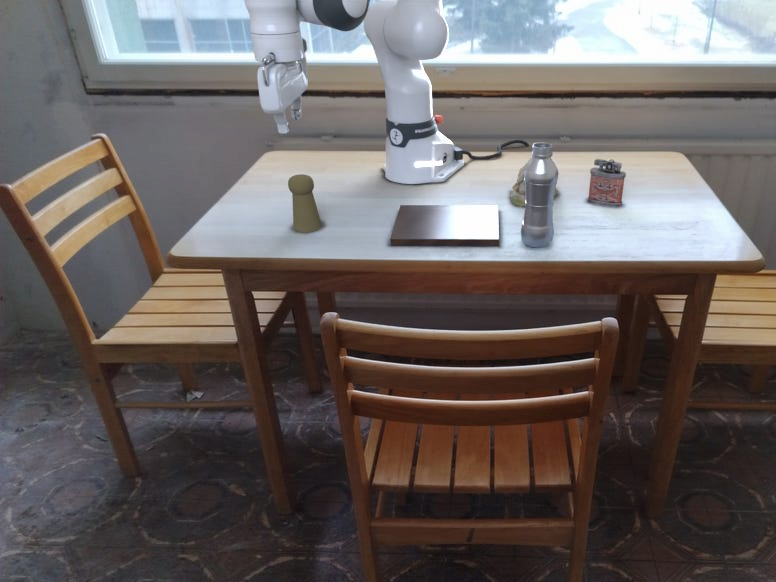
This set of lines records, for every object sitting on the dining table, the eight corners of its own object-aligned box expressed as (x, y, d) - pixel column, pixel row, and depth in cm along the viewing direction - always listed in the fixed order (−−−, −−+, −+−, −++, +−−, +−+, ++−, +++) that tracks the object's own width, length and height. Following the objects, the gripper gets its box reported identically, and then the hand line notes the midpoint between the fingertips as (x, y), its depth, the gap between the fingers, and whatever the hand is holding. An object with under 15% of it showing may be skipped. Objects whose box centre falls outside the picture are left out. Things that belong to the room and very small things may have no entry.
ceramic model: (514, 184, 161) (515, 143, 155) (559, 187, 159) (562, 146, 153) (504, 205, 149) (505, 162, 144) (553, 209, 148) (556, 165, 142)
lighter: (623, 203, 151) (629, 160, 145) (619, 208, 148) (625, 164, 142) (589, 198, 153) (594, 155, 148) (585, 202, 151) (589, 159, 145)
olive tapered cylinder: (315, 233, 137) (307, 182, 131) (288, 230, 138) (279, 180, 132) (326, 222, 142) (319, 172, 135) (300, 219, 143) (292, 170, 136)
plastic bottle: (518, 238, 135) (521, 140, 123) (550, 237, 135) (557, 139, 124) (522, 251, 130) (526, 151, 118) (556, 250, 130) (563, 150, 119)
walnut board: (498, 212, 146) (498, 205, 145) (499, 246, 132) (499, 239, 131) (400, 211, 147) (400, 204, 146) (390, 246, 132) (389, 238, 131)
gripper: (279, 59, 111) (292, 141, 119) (308, 39, 128) (318, 112, 136) (242, 59, 111) (258, 141, 119) (276, 39, 128) (288, 112, 136)
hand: (290, 125), depth 128 cm, fingers open, 8 cm apart
